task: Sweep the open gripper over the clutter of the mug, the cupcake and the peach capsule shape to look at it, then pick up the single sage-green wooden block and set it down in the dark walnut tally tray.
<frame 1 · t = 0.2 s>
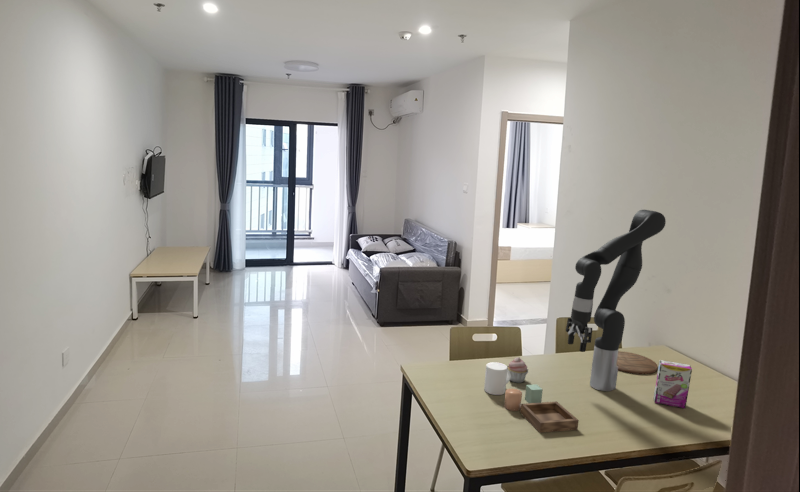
hand: (576, 347, 219), 18 cm above the table, tool pointing down, fingers open, 8 cm apart
sage block: (532, 401, 208), on the table
tray: (548, 421, 193), on the table
candy bar box: (669, 404, 213), on the table
trivet: (627, 364, 254), on the table
mug: (497, 390, 217), on the table
peach capsule shape: (512, 407, 202), on the table
cupcake: (516, 380, 227), on the table
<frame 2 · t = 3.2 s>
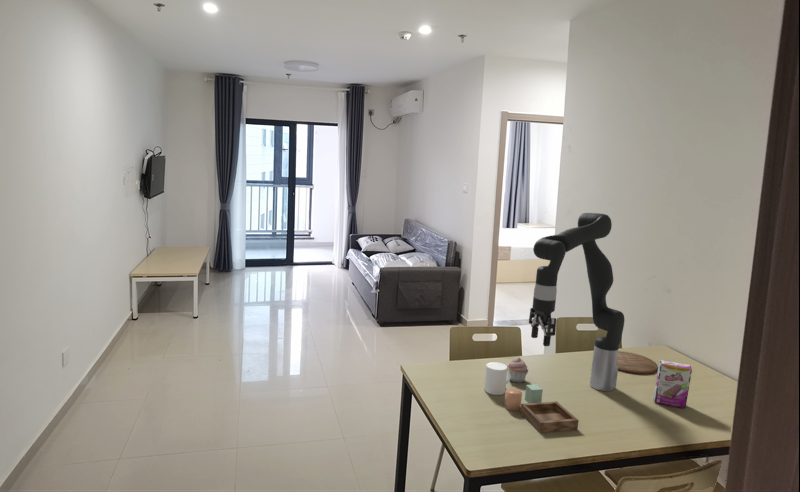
hand: (540, 341, 191), 28 cm above the table, tool pointing down, fingers open, 8 cm apart
nothing on the table moved.
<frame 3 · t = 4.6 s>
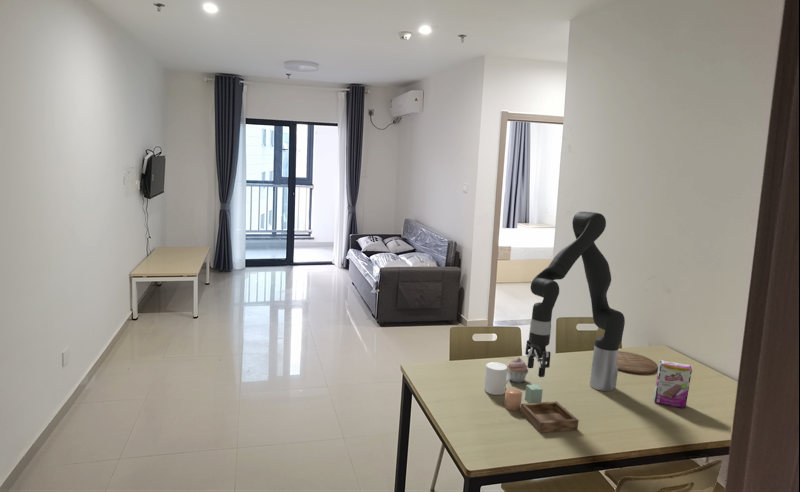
hand: (535, 372, 206), 12 cm above the table, tool pointing down, fingers open, 8 cm apart
nothing on the table moved.
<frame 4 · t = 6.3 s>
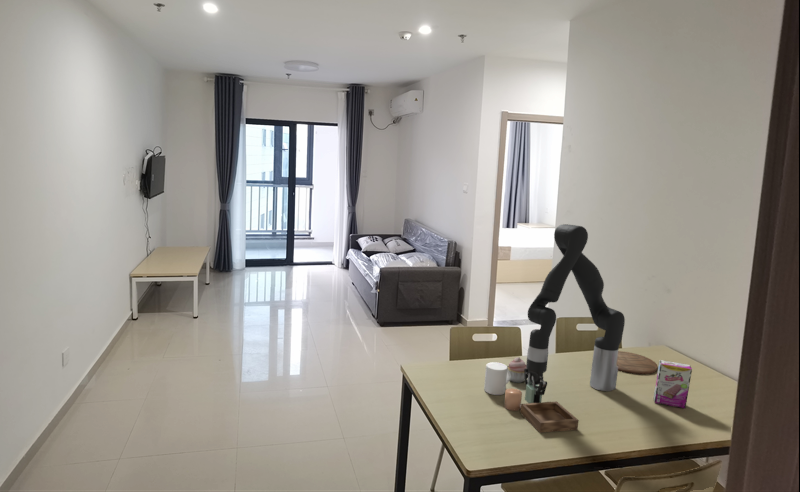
hand: (533, 400, 207), 1 cm above the table, tool pointing down, fingers closed on sage block, 4 cm apart
sage block: (532, 401, 208), on the table, touching gripper
everything else where it was.
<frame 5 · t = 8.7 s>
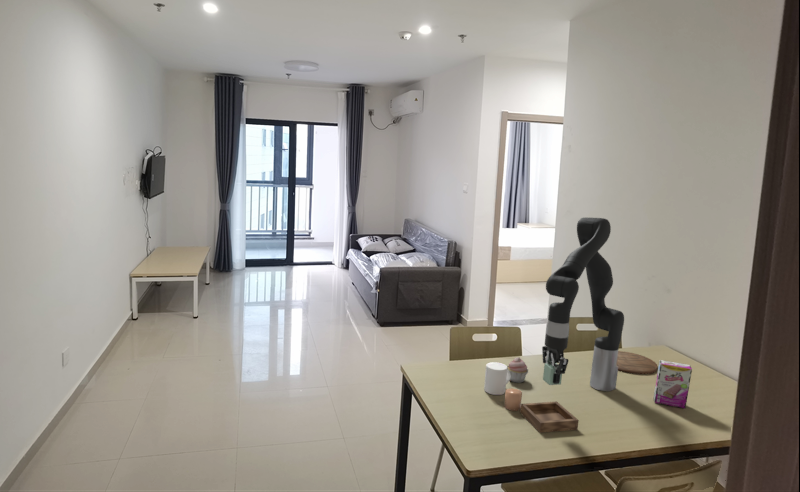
hand: (552, 380, 190), 15 cm above the table, tool pointing down, fingers closed on sage block, 4 cm apart
sage block: (551, 382, 190), point 15 cm above the table, touching gripper
everything else where it was.
when the fingers open (4 cm above the table, at t = 11.2 s): sage block drops 2 cm, resting on tray.
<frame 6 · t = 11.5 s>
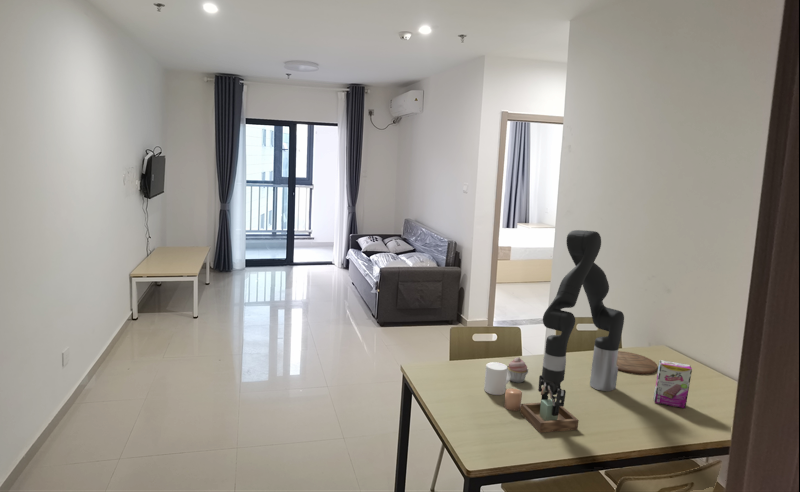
hand: (549, 410, 192), 4 cm above the table, tool pointing down, fingers open, 7 cm apart
sage block: (548, 418, 193), point 1 cm above the table, touching tray
everything else where it was.
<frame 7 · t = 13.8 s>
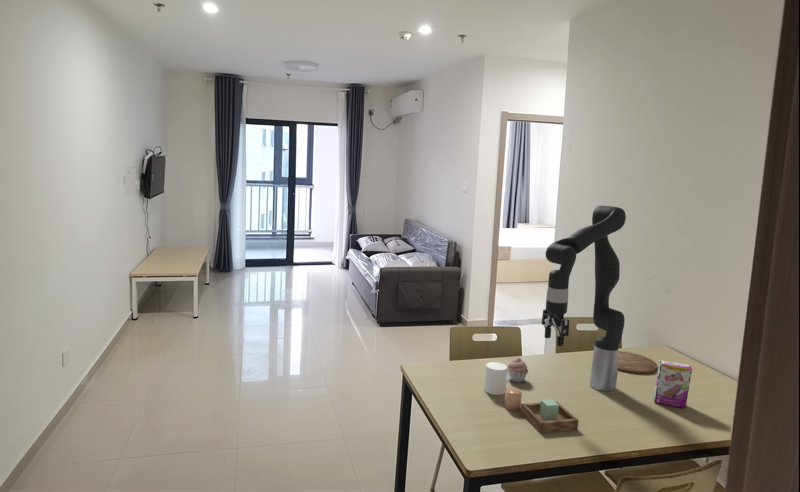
hand: (553, 341, 200), 25 cm above the table, tool pointing down, fingers open, 8 cm apart
nothing on the table moved.
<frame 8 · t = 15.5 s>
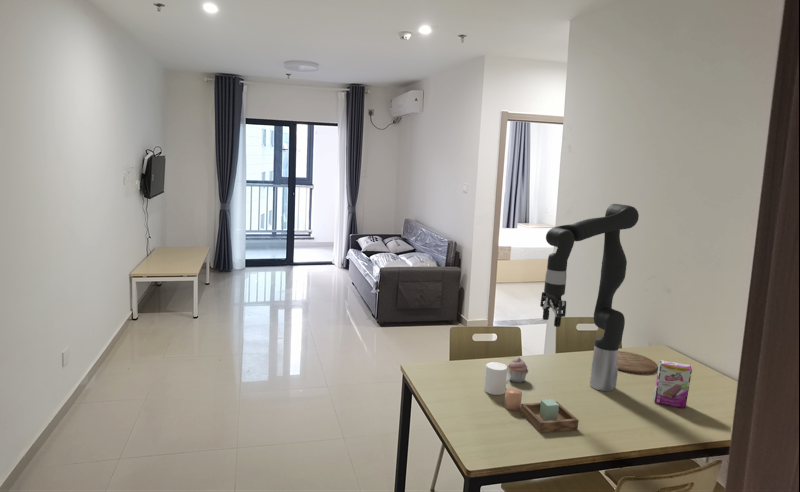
hand: (551, 322, 207), 30 cm above the table, tool pointing down, fingers open, 8 cm apart
nothing on the table moved.
at the end: sage block inside the target area on the tray (0.1 cm from its centre), point 1.0 cm above the tray's base; sage block tilted 0°; the gripper is holding nothing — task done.
